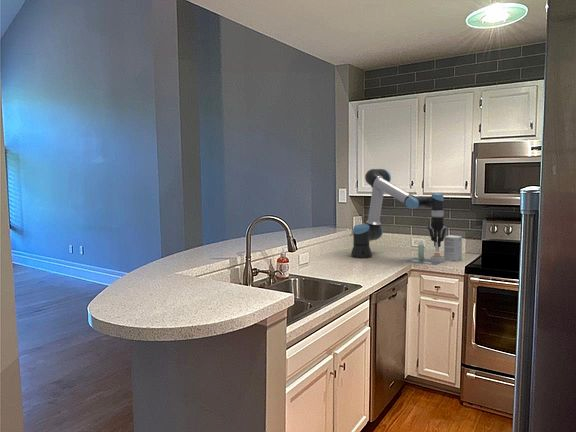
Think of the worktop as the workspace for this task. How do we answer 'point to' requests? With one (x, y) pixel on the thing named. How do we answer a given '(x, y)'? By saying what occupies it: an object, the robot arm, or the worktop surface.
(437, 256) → the button
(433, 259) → the button panel board
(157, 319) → the worktop surface
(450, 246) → the supplement box
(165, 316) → the worktop surface
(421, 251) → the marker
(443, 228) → the robot arm
